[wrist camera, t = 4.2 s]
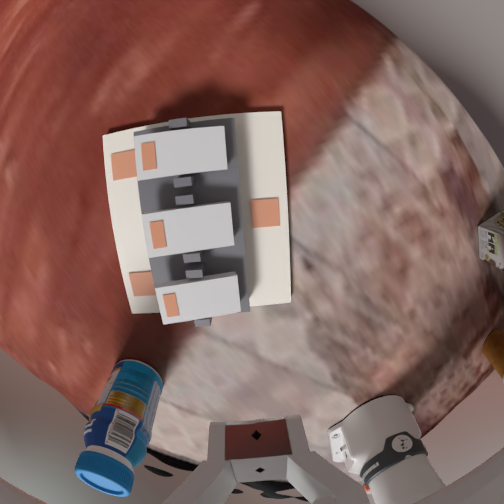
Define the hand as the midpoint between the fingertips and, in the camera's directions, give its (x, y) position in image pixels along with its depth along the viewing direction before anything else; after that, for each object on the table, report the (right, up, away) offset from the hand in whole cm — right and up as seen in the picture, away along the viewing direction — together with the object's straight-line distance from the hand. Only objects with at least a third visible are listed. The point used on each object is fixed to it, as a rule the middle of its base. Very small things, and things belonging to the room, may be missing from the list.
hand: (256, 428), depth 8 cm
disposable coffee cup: (+53, -14, +34) cm, 64 cm away
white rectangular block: (-5, +1, +19) cm, 20 cm away
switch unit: (-6, +10, +23) cm, 25 cm away
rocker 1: (-6, +15, +15) cm, 22 cm away
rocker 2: (-6, +8, +17) cm, 20 cm away
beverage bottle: (-18, -13, +29) cm, 36 cm away
